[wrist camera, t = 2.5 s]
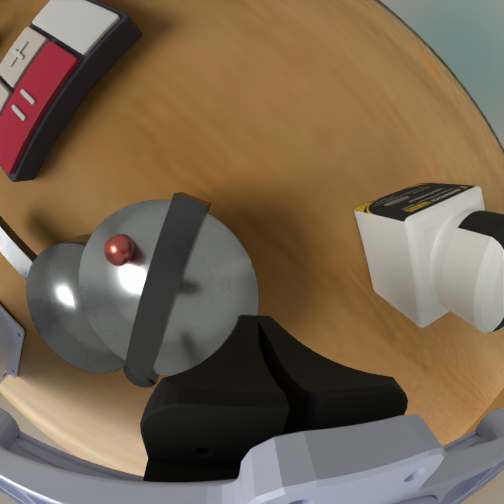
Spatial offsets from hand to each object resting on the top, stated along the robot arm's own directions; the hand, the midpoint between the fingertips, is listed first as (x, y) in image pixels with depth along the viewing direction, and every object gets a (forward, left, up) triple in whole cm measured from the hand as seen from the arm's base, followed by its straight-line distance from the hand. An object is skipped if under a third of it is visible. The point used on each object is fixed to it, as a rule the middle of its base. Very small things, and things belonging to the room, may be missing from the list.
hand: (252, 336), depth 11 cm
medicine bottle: (+10, -8, -9) cm, 15 cm away
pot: (-9, +10, -9) cm, 16 cm away
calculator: (+3, +24, -9) cm, 26 cm away
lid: (-3, +4, -5) cm, 7 cm away
